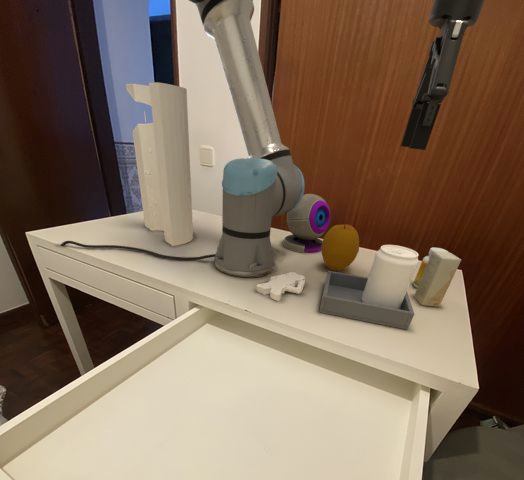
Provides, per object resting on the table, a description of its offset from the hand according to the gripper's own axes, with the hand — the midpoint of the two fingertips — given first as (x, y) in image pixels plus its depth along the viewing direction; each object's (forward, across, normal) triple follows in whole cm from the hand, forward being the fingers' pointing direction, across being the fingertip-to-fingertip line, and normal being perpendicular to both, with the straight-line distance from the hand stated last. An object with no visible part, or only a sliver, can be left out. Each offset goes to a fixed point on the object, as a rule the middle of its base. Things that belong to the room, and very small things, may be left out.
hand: (411, 148), depth 61 cm
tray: (+29, -14, +2) cm, 32 cm away
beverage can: (+28, -14, -2) cm, 32 cm away
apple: (+29, +5, +9) cm, 31 cm away
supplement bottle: (+29, +3, -14) cm, 32 cm away
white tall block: (+29, +10, +60) cm, 67 cm away
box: (+29, -6, -13) cm, 32 cm away
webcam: (+29, +20, +20) cm, 40 cm away
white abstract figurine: (+29, -14, +20) cm, 38 cm away
